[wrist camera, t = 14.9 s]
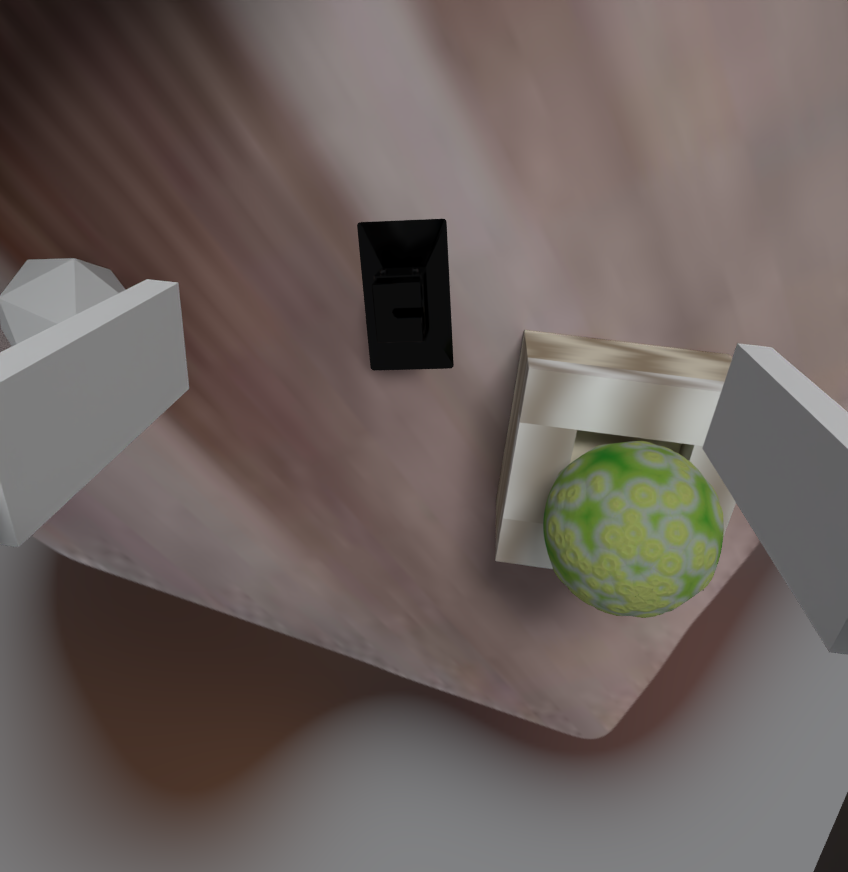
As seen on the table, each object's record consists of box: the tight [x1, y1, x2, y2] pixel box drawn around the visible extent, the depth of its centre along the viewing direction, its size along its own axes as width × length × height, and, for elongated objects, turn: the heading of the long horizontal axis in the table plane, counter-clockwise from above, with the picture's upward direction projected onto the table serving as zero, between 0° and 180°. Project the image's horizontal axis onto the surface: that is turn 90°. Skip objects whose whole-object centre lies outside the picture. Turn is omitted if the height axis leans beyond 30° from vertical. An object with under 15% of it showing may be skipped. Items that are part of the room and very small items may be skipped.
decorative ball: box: [543, 441, 724, 618], centre depth 36 cm, size 10×10×10 cm
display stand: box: [495, 330, 736, 591], centre depth 43 cm, size 14×14×8 cm
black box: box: [357, 219, 453, 370], centre depth 42 cm, size 13×8×5 cm, turn 3°
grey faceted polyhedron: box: [0, 258, 125, 346], centre depth 43 cm, size 8×9×10 cm
